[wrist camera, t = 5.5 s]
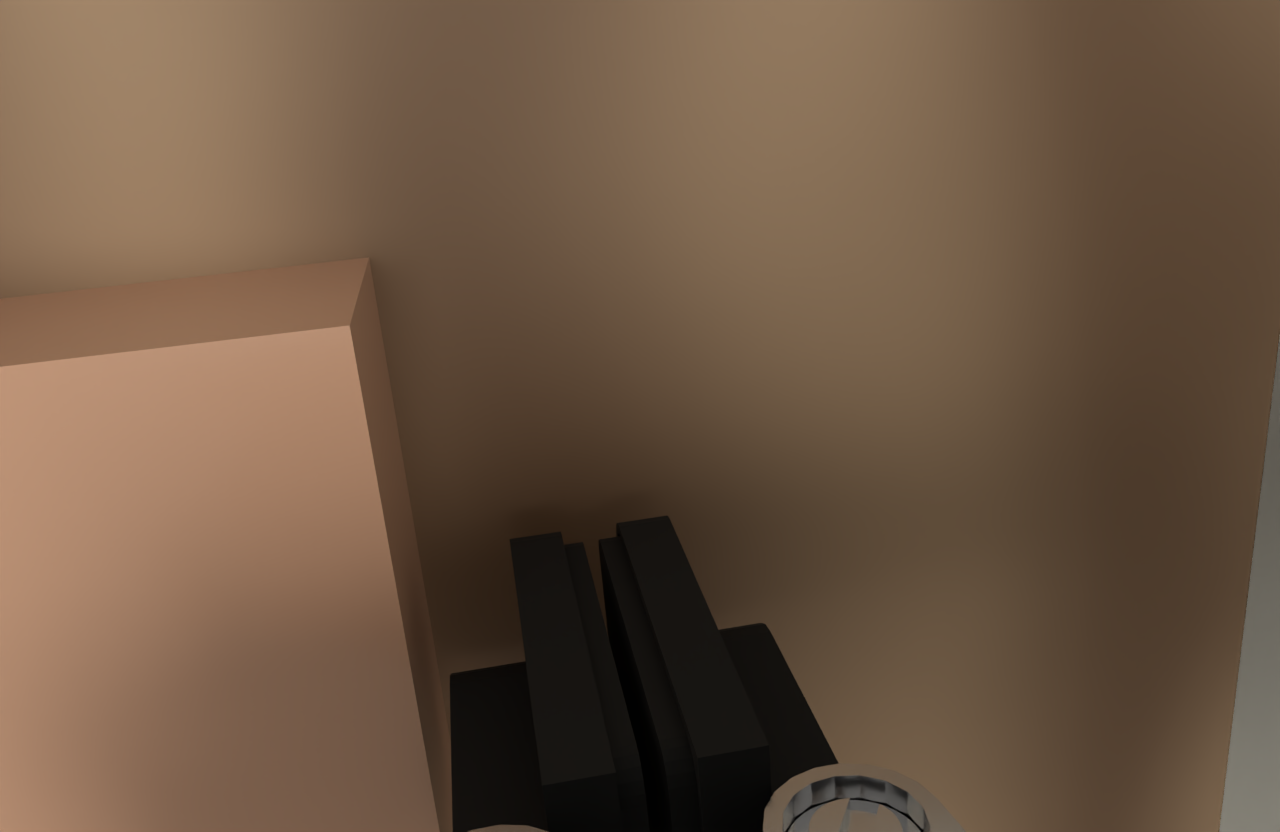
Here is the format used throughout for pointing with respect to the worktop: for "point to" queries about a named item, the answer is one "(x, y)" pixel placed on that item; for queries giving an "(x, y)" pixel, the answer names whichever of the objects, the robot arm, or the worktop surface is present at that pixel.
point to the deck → (762, 324)
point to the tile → (211, 564)
